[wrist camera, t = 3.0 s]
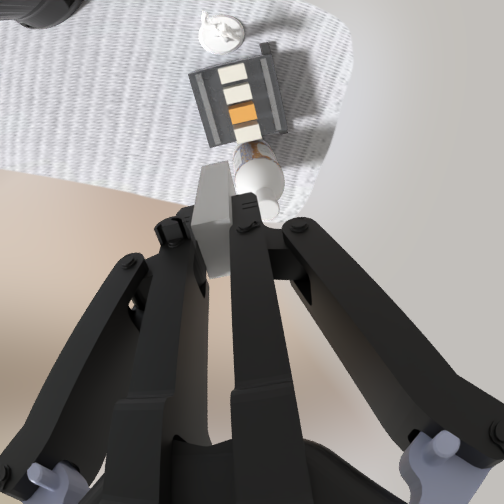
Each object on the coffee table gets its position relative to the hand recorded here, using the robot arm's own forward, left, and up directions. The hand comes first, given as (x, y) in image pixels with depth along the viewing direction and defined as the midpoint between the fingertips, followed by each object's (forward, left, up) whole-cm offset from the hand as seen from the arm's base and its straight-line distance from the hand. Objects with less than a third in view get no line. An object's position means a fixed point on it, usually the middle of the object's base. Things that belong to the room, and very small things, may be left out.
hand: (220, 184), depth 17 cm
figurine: (-11, +3, -35) cm, 37 cm away
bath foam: (+11, +3, -35) cm, 37 cm away
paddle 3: (+2, +3, -29) cm, 29 cm away
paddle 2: (-1, +3, -29) cm, 29 cm away
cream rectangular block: (-4, +3, -29) cm, 29 cm away
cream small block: (+5, +3, -29) cm, 30 cm away
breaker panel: (0, +3, -35) cm, 35 cm away
